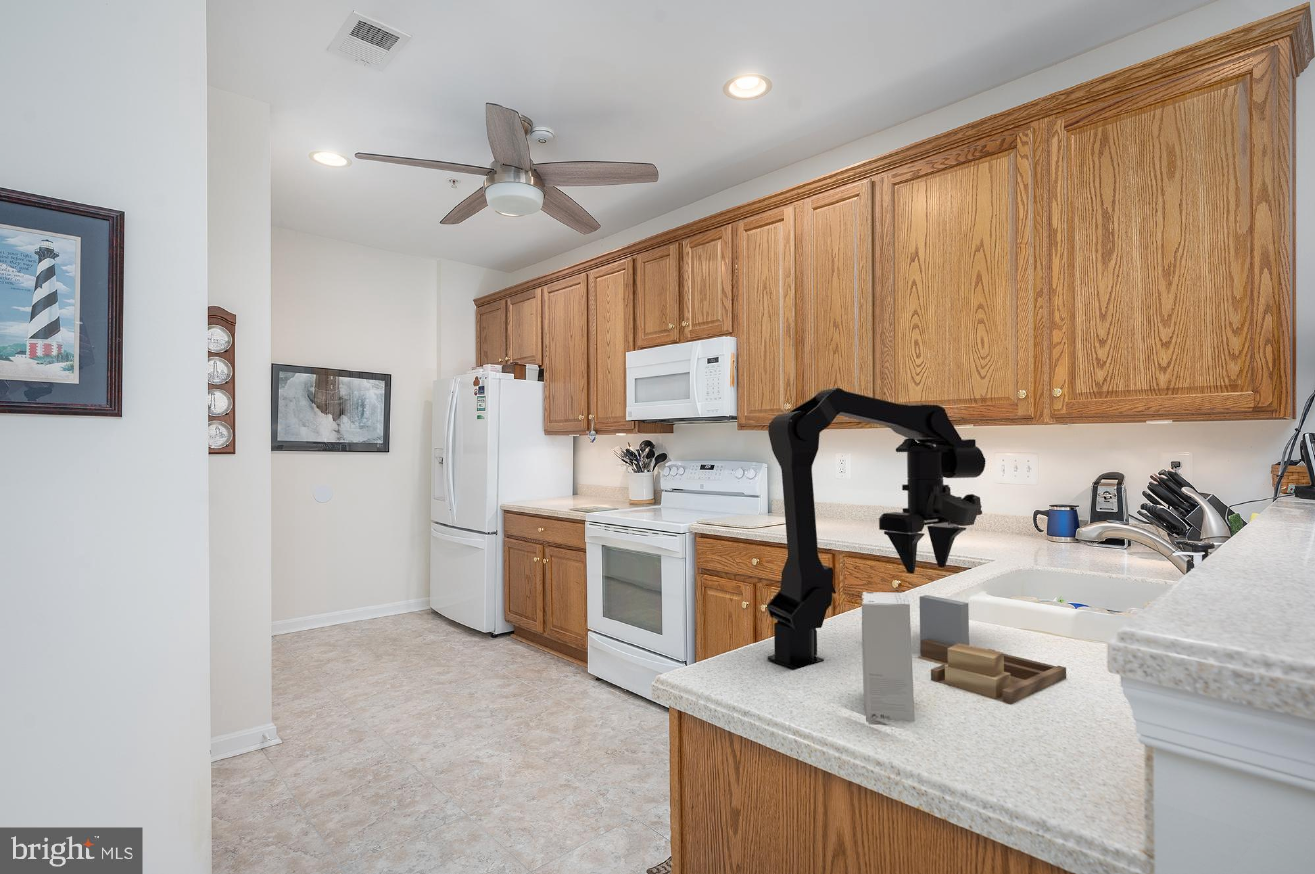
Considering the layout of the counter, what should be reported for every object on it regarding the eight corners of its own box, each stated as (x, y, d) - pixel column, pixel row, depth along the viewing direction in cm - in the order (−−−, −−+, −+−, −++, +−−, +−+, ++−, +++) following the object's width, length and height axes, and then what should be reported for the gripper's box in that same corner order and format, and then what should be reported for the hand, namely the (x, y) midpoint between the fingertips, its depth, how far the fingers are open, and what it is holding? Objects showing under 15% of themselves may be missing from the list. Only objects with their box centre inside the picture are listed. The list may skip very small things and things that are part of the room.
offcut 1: (994, 677, 85) (993, 658, 85) (947, 666, 90) (947, 648, 90) (1003, 670, 88) (1003, 652, 88) (958, 660, 92) (958, 643, 92)
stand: (946, 672, 98) (946, 648, 98) (916, 663, 102) (916, 641, 102) (971, 663, 102) (971, 640, 102) (941, 655, 106) (941, 633, 106)
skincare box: (915, 729, 78) (913, 605, 78) (862, 723, 79) (861, 601, 80) (910, 704, 86) (908, 590, 86) (862, 699, 87) (861, 588, 88)
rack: (1010, 711, 83) (1010, 691, 83) (931, 686, 92) (930, 668, 92) (1066, 685, 92) (1066, 667, 92) (989, 664, 101) (988, 648, 101)
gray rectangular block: (962, 664, 98) (961, 604, 99) (920, 652, 104) (919, 596, 104) (969, 661, 99) (968, 602, 100) (927, 650, 105) (926, 594, 105)
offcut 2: (995, 698, 85) (995, 679, 85) (945, 683, 90) (944, 665, 90) (1010, 691, 87) (1010, 673, 87) (960, 677, 93) (960, 659, 93)
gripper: (938, 482, 99) (940, 584, 99) (1000, 478, 110) (1001, 571, 110) (876, 479, 108) (877, 573, 108) (938, 476, 119) (940, 562, 119)
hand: (926, 570), depth 111 cm, fingers open, 9 cm apart
